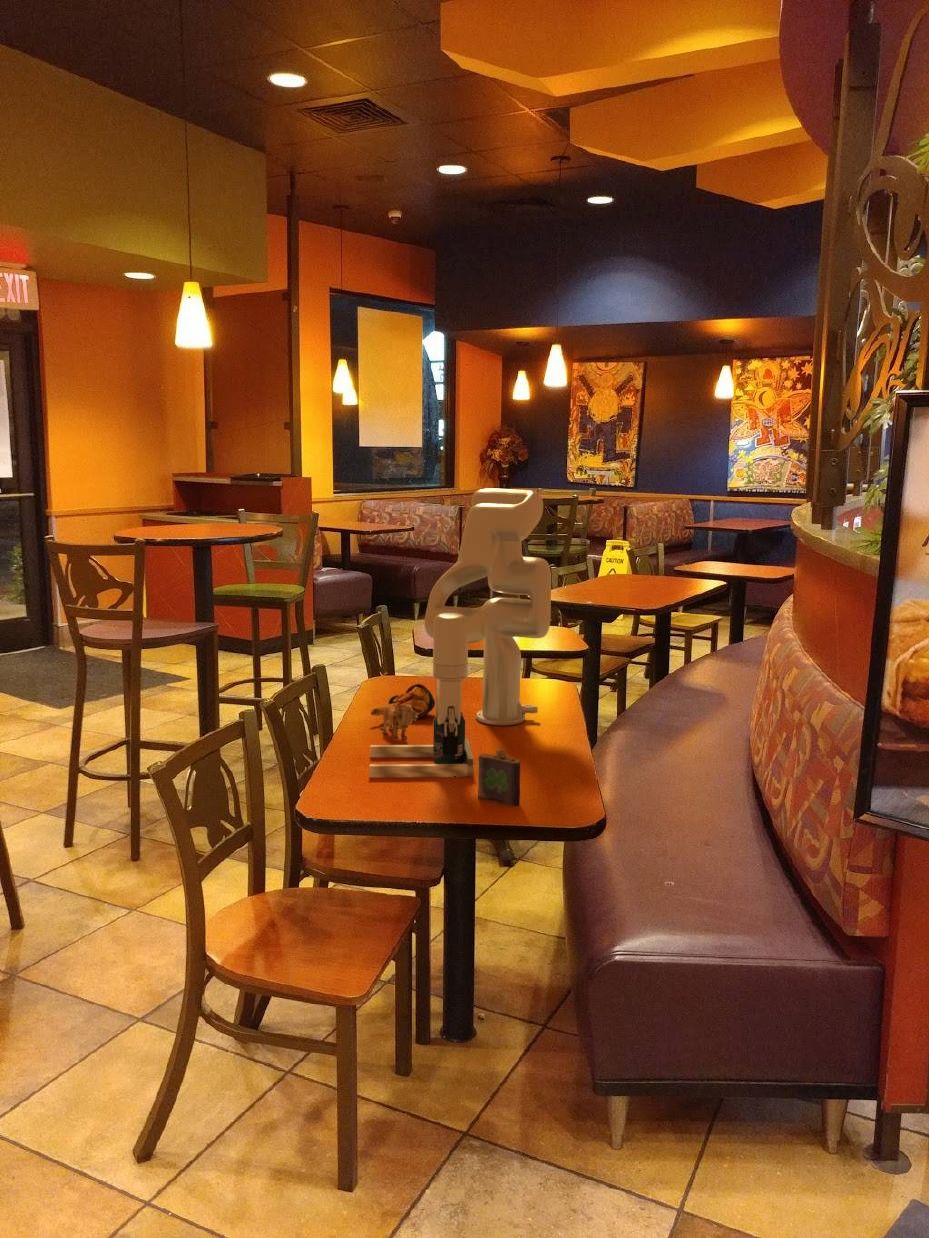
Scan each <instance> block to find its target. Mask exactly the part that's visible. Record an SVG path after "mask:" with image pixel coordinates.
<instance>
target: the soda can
mask: <svg viewBox="0 0 929 1238" xmlns="http://www.w3.org/2000/svg"><path fill="white" fill-rule="evenodd" d="M463 714H464V713H463V712H462V711H461V716H460V723H459V724H458V725H457V736H458V753H457V754H443V736H444V724H441V725H439V724H438V723H437V717H436V716H435V718H434V719H433V743H432V745H433V757H432V761H433V764H464V761H465V738H466V719H465V717H464V715H463ZM457 721H458V719H457ZM446 722H449V721H446ZM447 727H449V726H447Z"/></svg>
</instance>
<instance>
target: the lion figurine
mask: <svg viewBox="0 0 929 1238" xmlns="http://www.w3.org/2000/svg"><path fill="white" fill-rule="evenodd" d="M418 715H419V714H418V713H417V712H415V711H414V710H413V709H412V705H403V706H400V707H399V708H395V707H394V706H387V707H386V708H385V710H384V715H383V722H381V723H380V724H379V725H378V726H379V727H382V728H383V729H382V732H381V733H382V735H385V734H387V733H388V731H387V723H388V729H389V730H392V731H393V739H392V741H394V742H398V741H399V736H398V730H401V733H400V736H401V739H402V740H407V739H408V736H406V730H407V729H408V728H409V726H411V725H412V723H413V721H414V722H416V721H417V719H418V718H417V717H418ZM388 721H389V722H388Z"/></svg>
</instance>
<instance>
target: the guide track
mask: <svg viewBox="0 0 929 1238" xmlns="http://www.w3.org/2000/svg"><path fill="white" fill-rule="evenodd" d="M369 747H370V749H369V750H370V752H369V756H370V758H433V744H370V745H369ZM368 770H369V774H368V775H369V776H368V777H369V778H370V779H371V778H377V779H378V778H379V779H381V778H467V777H466V776H473V777H474V756H473V752H472V749H471V745H470V742H469V738H467V737H465V761H464V763H463V764H435V763H414V764H413V763H410V764H409V763H404V764H403V763H402V764H401V763H399V764H398V763H397V764H395V763H389V764H387V763H386V764H385V763H382V764H381V763H378V764H374V763H373V764H372V763H371V764H369V769H368ZM454 776H456V777H454Z"/></svg>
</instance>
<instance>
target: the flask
mask: <svg viewBox="0 0 929 1238" xmlns="http://www.w3.org/2000/svg"><path fill="white" fill-rule="evenodd" d="M505 750H506V749H505V748H499V749H498V750H495V753H497V754H496V755H494V754H490V753H481V754H479V755H478V775H477V776H478V777H477V798H478V799H481V800H483V801H485V800H486V801H489V802H492V803H500V804H504V805H506V806H507V805H508V806H511V807H518V806H520V803H521V802H520V800H521V787H520V786H521V761H520V760H519V759H515V758H514V757H512V756H510V757H509V756H508V755H507V753H505V752H504V751H505Z"/></svg>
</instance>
